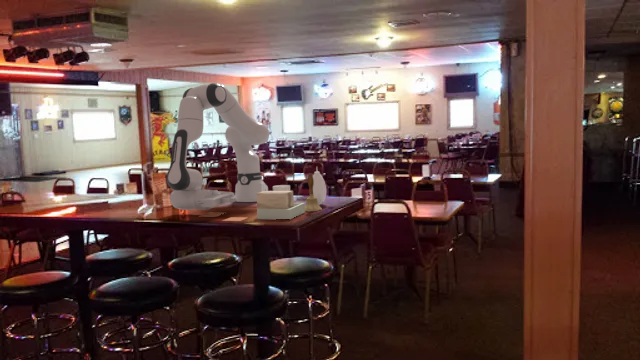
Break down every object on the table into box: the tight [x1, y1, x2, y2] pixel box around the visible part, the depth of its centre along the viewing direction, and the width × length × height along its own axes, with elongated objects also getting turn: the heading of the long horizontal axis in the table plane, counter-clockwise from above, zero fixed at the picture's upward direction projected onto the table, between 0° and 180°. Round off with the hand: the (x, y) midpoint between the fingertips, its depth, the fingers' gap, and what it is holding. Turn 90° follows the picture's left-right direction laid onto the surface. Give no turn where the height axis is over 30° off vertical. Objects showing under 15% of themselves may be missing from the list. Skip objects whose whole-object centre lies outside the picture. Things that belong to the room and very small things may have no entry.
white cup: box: [272, 184, 291, 191], centre depth 250 cm, size 8×8×10 cm
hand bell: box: [305, 173, 323, 212], centre depth 240 cm, size 8×8×16 cm
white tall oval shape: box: [308, 167, 327, 206], centre depth 255 cm, size 8×8×18 cm
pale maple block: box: [256, 190, 295, 210], centre depth 229 cm, size 8×13×10 cm, turn 72°
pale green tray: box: [256, 202, 306, 220], centre depth 228 cm, size 18×14×4 cm
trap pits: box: [198, 211, 249, 222], centre depth 231 cm, size 20×24×1 cm
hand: (234, 199), depth 235 cm, fingers closed
